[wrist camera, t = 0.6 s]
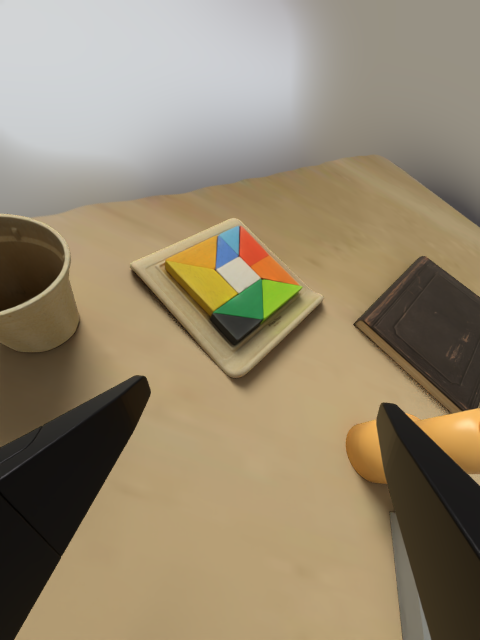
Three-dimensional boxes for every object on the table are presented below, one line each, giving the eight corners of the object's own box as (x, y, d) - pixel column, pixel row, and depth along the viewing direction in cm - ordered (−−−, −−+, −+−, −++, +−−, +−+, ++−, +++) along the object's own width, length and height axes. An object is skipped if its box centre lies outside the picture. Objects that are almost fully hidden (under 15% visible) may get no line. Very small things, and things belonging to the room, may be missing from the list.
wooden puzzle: (235, 386, 25) (243, 375, 22) (126, 270, 29) (121, 248, 26) (321, 303, 34) (335, 287, 31) (228, 223, 38) (232, 203, 35)
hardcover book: (493, 326, 40) (508, 319, 39) (454, 422, 29) (474, 419, 27) (412, 263, 44) (422, 254, 43) (350, 326, 33) (361, 317, 31)
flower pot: (117, 304, 26) (97, 242, 19) (57, 386, 21) (-2, 343, 14) (32, 273, 26) (-22, 197, 19) (-51, 349, 21) (-170, 284, 13)
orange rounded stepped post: (397, 489, 23) (581, 504, 13) (346, 475, 23) (493, 478, 12) (390, 431, 26) (535, 404, 16) (345, 417, 25) (463, 381, 15)
